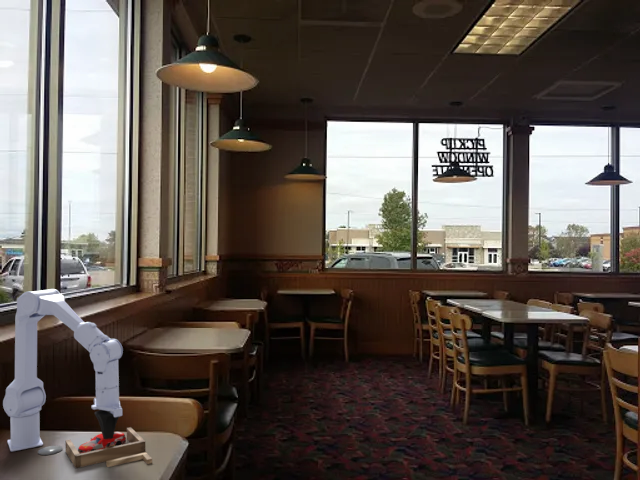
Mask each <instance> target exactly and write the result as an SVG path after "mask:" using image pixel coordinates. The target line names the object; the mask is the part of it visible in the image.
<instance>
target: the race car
mask: <svg viewBox="0 0 640 480" xmlns="http://www.w3.org/2000/svg"><path fill="white" fill-rule="evenodd" d="M126 441H127V436H126V435H125V433H124V432H121V431H114V435H113V438H110V439H104V438H103V435H102V432H101V433H99V434H97V435H95V436H94V437H91V438H90V439H89V440H88V441H86V442H84V443H82V444H81V445H79V446H78V447H77V450H78V452H79V453H80V454H81V453H86V452H90V451H95V450H100V449H104V448H109V447H114V446H119V445H123V444H126Z"/></svg>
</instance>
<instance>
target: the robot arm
mask: <svg viewBox="0 0 640 480" xmlns="http://www.w3.org/2000/svg"><path fill="white" fill-rule="evenodd" d="M45 316H54V317H55V318H57V319H58V320H59V321H60V322H61V323H63V324H64V325H65V326H66V327H68V328H69V329H70V330H71V331H73V338H74V339H75V340H76V341H77V342H78V343H79V344H80V345H81V346H82V347H83V348H84V349H86V350H87V351H88V353H89V357H90V360H91V362H92V364H93V370H94V371H95V373H94V374H95V398H93V404H92V405H91V409H92V410H97V411H95V412H94V416H95V417H96V419H97V421H98V424H99V426H100V430H101V433H102V435H103V438H104V439H110V438H113V435H114V432H116V431H115V430H116V426H117V423H118V420H119V418H120V417H122V416H123V408H122V406H121V401H120V387H119V386H120V383H119V382H120V381H119V380H120V379H119V377H120V376H119V373H120V372H119V371H120V370H119V360H120V359H121V358H122V357H123V353H124V352H123V351H124V348H123V346H122V343H121V342H120V341H119V340H118V339H117V338H110V337H109V336H108V335H107V334H104V333H103V331H102V330H100V328H98V327H97V326H98V325H97V324H96V323H95V322H91V321H86V322H85V321H84V320H83V319H82V318H81V317H80V316H79V315H78V314H77V313H76V312H75V311H74V310H73V309H72V308H71V306H70V305H69V303H67V302H66V299H65V295H63V294H62V293H60V291H59V290H58V289H55V288H49V289H43V290H42V289H40V290H34V291H31V290H30V291H28V290H27V291H25V292H23V293H22V294H20V296H19V297H17V298H16V313H15V318H14V319H15V322H14V323H15V324H14V326H15V327H14V330H15V331H14V337H15V338H14V341H15V343H14V379H13V381H12V382H10V383H9V385H8V386H7V387H5V388H6V389H5V395H4V398H3V400H2V406H3V407H2V408H3V409H4V412H5V413H6V415H7V416H8V417H10V420H9V421H10V439H7V445H8V449H9V451H10V452H16V451H21V450H26V449H32V448H36V447H42V446H44V442H43V440H42V439H41V437H40V436H41V433H40V432H41V431H40V422H41V421H40V419H41V418H40V411H41V410H42V406H43V405H45V403H46V401H47V400H46V398H47V395H46V391H45V389H44V382H43V381H42V380H41V379H40V378H38V367H37V366H38V322H40V320H42V318H44V317H45Z"/></svg>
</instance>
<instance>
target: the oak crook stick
mask: <svg viewBox="0 0 640 480" xmlns="http://www.w3.org/2000/svg"><path fill="white" fill-rule="evenodd" d="M139 460H143V461H144V462H145V463H146V464H147V465H150V464H153V458H152V457H151V455H149V454H148V453H147V452H146V451H145V453H140V454H136V455H131V456H127V457H123V458H118V459H114V460H109V461H106V462H105V465H106V467H107V468H109V467H114V466H119V465H122V464H127V463H132V462H137V461H139Z"/></svg>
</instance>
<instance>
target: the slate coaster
mask: <svg viewBox="0 0 640 480" xmlns="http://www.w3.org/2000/svg"><path fill="white" fill-rule="evenodd" d="M63 449H64V448H63V446H61V445H49V446H45V447H41V448H40V449H39V450H37V454H38V455H40V456H49V455H54V454H55V455H56V454H57V453H60V452H61V451H63Z"/></svg>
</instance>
